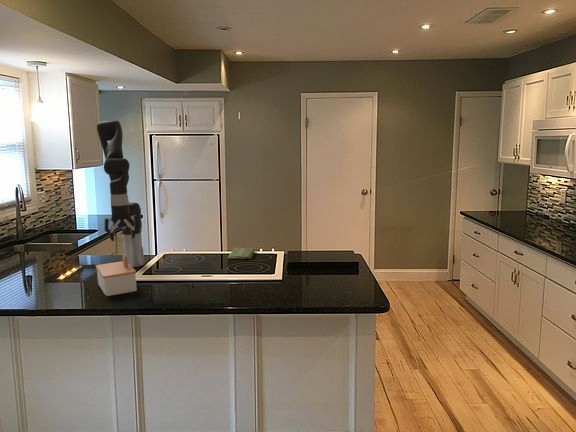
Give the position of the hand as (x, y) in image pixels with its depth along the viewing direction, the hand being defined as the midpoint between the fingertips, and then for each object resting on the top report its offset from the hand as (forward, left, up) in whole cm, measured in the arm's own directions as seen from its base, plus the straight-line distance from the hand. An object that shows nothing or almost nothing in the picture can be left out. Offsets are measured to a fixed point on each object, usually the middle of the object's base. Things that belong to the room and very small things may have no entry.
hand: (122, 239), depth 220 cm
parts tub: (+4, 0, -22) cm, 22 cm away
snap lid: (+4, 0, -15) cm, 15 cm away
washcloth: (-66, -18, -22) cm, 72 cm away
